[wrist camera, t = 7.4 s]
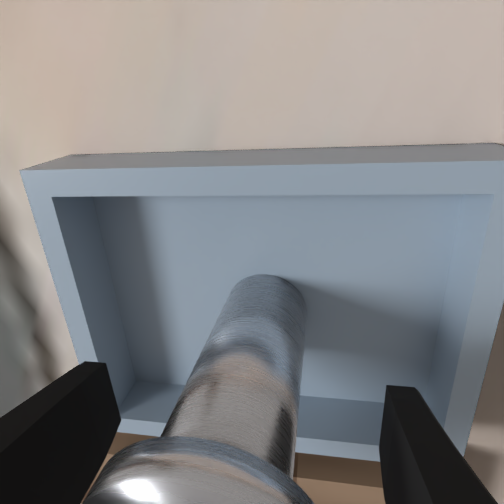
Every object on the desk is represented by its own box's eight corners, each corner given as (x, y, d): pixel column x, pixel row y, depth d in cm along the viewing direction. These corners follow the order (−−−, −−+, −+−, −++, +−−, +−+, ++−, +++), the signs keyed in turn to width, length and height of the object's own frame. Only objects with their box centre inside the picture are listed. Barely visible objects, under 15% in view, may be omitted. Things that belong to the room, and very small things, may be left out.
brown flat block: (416, 545, 19) (429, 607, 17) (122, 501, 22) (99, 550, 19) (439, 437, 16) (459, 497, 13) (91, 403, 19) (60, 447, 16)
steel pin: (325, 364, 14) (323, 670, 7) (213, 355, 15) (99, 619, 8) (329, 257, 13) (333, 506, 5) (203, 254, 13) (43, 463, 6)
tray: (439, 412, 15) (460, 470, 13) (127, 385, 18) (99, 429, 15) (494, 143, 11) (540, 160, 9) (70, 154, 13) (19, 170, 11)
